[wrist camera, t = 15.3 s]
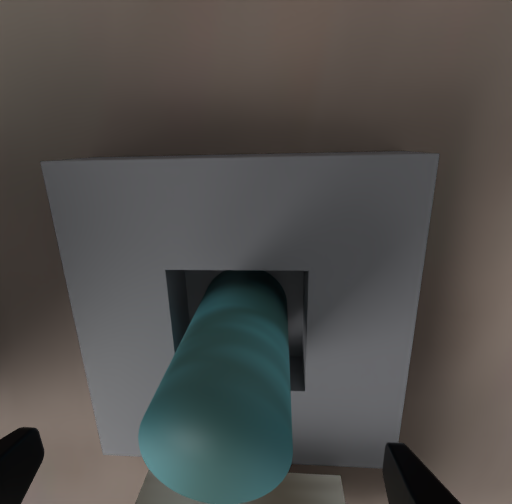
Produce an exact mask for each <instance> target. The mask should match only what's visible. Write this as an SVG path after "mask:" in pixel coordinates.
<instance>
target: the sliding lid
mask: <svg viewBox="0 0 512 504" xmlns="http://www.w3.org/2000/svg"><path fill="white" fill-rule="evenodd" d="M135 504H209V503H204V502H199V501H196V500H192V499H190V498H187V497H185V496H182V495H180V494H178V493H176V492H174V491H173V490H171V489H170V488H168V487H167V486H165V485H164V484H163V483H162V482H160V481H159V480H158V479H157V478H156V477H155V476H154V475H153V473H152V472H151V471H150V470H149V471H148V473H147V476H146V478H145V481H144V483H143V486H142V488H141V491H140V493H139V496H138V498H137V500H136V503H135ZM240 504H345V498H344V492H343V487H342V481H341V475H322V474H302V473H287V475H286V477H285V478H284V479H283V481H282V482H281V483H280V484H279V485H278V486H277V487H276V488H275V489H273V490H272V491H271V492H269V493H268V494H266V495H264V496H262V497H260V498H258V499H255V500H252V501H249V502H245V503H240Z"/></svg>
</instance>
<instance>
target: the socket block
mask: <svg viewBox="0 0 512 504" xmlns="http://www.w3.org/2000/svg"><path fill="white" fill-rule="evenodd" d="M439 155H440V154H438V153H424V152H409V151H384V152H335V153H285V154H236V155H186V156H137V157H91V158H78V159H65V160H52V161H40V163H41V167H42V172H43V177H44V181H45V186H46V191H47V195H48V200H49V205H50V209H51V214H52V219H53V223H54V228H55V233H56V237H57V242H58V247H59V251H60V256H61V261H62V265H63V270H64V275H65V279H66V284H67V289H68V293H69V298H70V303H71V307H72V312H73V317H74V321H75V326H76V331H77V335H78V340H79V345H80V349H81V354H82V359H83V363H84V368H85V373H86V377H87V382H88V387H89V391H90V396H91V401H92V405H93V410H94V415H95V419H96V424H97V429H98V433H99V438H100V443H101V447H102V452H103V455H119V456H139V457H142V455H141V452H140V448H139V441H138V434H139V427H140V424H141V421H142V419H143V417H144V414H145V412H146V410H147V408H148V406H149V404H150V402H151V400H152V398H153V396H154V394H155V392H156V390H157V388H158V386H159V384H160V382H161V380H162V378H163V376H164V374H165V372H166V370H167V368H168V366H169V364H170V362H171V360H172V358H173V356H174V354H175V352H176V350H177V348H178V346H179V344H180V342H181V340H182V338H183V336H184V334H185V332H186V330H187V328H188V326H189V324H190V322H191V320H192V318H193V316H194V314H195V312H196V310H197V308H198V306H199V304H200V302H201V300H202V298H203V296H204V294H205V292H206V290H207V288H208V286H209V285H210V283H211V282H212V280H213V279H214V278H215V277H216V276H217V275H219V274H220V273H222V272H223V271H225V270H264V271H266V272H267V273H269V274H271V275H272V276H273V277H274V278H275V279H276V280H277V281H278V282H279V283H280V285H281V286H282V288H283V290H284V292H285V295H286V299H287V313H288V338H289V364H290V389H291V414H292V439H293V458H292V463H291V464H302V465H322V466H343V467H363V468H383V460H384V452H385V446H386V443H388V442H399V435H400V428H401V421H402V414H403V407H404V400H405V393H406V386H407V379H408V372H409V365H410V358H411V351H412V344H413V337H414V330H415V323H416V316H417V309H418V302H419V295H420V288H421V281H422V274H423V267H424V260H425V253H426V246H427V239H428V232H429V225H430V218H431V211H432V204H433V197H434V190H435V183H436V176H437V169H438V162H439Z"/></svg>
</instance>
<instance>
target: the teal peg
mask: <svg viewBox="0 0 512 504" xmlns="http://www.w3.org/2000/svg"><path fill="white" fill-rule="evenodd" d="M138 441H139V448H140V452H141V455H142V457H143V460H144V462H145V463H146V465H147V467H148V468H149V470H150V471H151V472H152V473H153V475H154V476H155V477H156V478H157V479H158V480H159V481H160V482H162V483H163V484H164V485H165V486H167V487H168V488H170V489H171V490H173V491H174V492H176V493H178V494H180V495H182V496H185V497H187V498H190V499H192V500H196V501H199V502H204V503H209V504H240V503H245V502H249V501H252V500H255V499H258V498H260V497H262V496H264V495H266V494H268V493H269V492H271V491H272V490H273V489H275V488H276V487H277V486H278V485H279V484H280V483H281V482H282V481H283V479H284V478H285V477H286V475H287V473H288V471H289V469H290V466H291V463H292V458H293V439H292V414H291V389H290V364H289V338H288V313H287V299H286V295H285V292H284V290H283V288H282V286H281V285H280V283H279V282H278V281H277V280H276V279H275V278H274V277H273V276H272V275H271V274H269V273H267V272H266V271H264V270H225V271H223V272H222V273H220V274H219V275H217V276H216V277H215V278H214V279H213V280H212V282H211V283H210V285H209V286H208V288H207V290H206V292H205V294H204V296H203V298H202V300H201V302H200V304H199V306H198V308H197V310H196V312H195V314H194V316H193V318H192V320H191V322H190V324H189V326H188V328H187V330H186V332H185V334H184V336H183V338H182V340H181V342H180V344H179V346H178V348H177V350H176V352H175V354H174V356H173V358H172V360H171V362H170V364H169V366H168V368H167V370H166V372H165V374H164V376H163V378H162V380H161V382H160V384H159V386H158V388H157V390H156V392H155V394H154V396H153V398H152V400H151V402H150V404H149V406H148V408H147V410H146V412H145V414H144V417H143V419H142V421H141V424H140V427H139V434H138Z"/></svg>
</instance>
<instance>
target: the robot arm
mask: <svg viewBox="0 0 512 504" xmlns="http://www.w3.org/2000/svg"><path fill="white" fill-rule="evenodd" d="M43 457H44V448H43V444H42V441H41V438H40V434H39V431H38V430H37V429H36V428H30V427H22V428H18V429H17V430H15V431H13V432H12V433H10V434H8V435H7V436H5V437H3V438H2V439H0V504H21V502H22V500H23V498H24V497H25V495H26V493H27V491H28V489H29V487H30V485H31V483H32V481H33V479H34V477H35V475H36V473H37V471H38V469H39V467H40V465H41V463H42V460H43ZM383 478H384V483H385V487H386V492H387V497H388V501H389V504H461V503H460V502H459V501H458V500H457V499H456V498H455V497H454V496H453V495H452V494H451V493H450V492H449V490H448V489H447V488H446V487H445V486H444V485H443V484H442V483H441V482H440V481H439V480H438V479H437V478H436V477H435V476H434V474H433V473H432V472H431V471H430V470H429V469H428V468H427V467H426V466H425V465H424V464H423V463H422V462H421V461H420V460H419V458H418V457H417V456H416V455H415V454H414V453H413V452H412V451H411V450H410V449H409V448H408V447H407V446H406V445H405V444H404V443H398V442H388V443H386V446H385V452H384V460H383Z"/></svg>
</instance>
